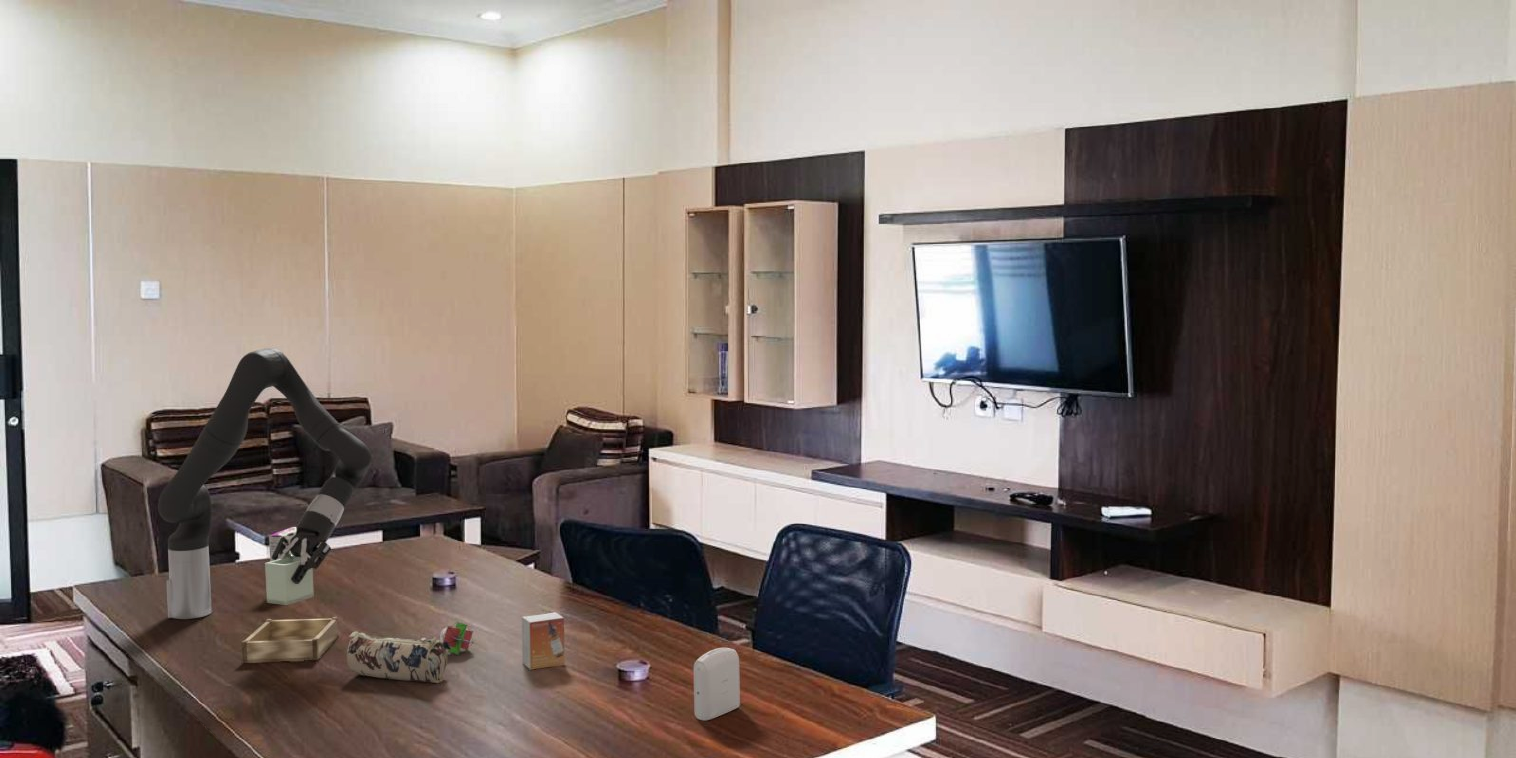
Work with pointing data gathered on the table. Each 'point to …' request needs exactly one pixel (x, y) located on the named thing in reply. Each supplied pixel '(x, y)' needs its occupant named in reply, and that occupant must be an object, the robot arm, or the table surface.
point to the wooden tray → (290, 640)
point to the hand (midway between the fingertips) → (283, 580)
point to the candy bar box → (276, 538)
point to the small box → (543, 640)
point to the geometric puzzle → (457, 637)
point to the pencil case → (398, 658)
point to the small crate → (287, 582)
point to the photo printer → (716, 683)
